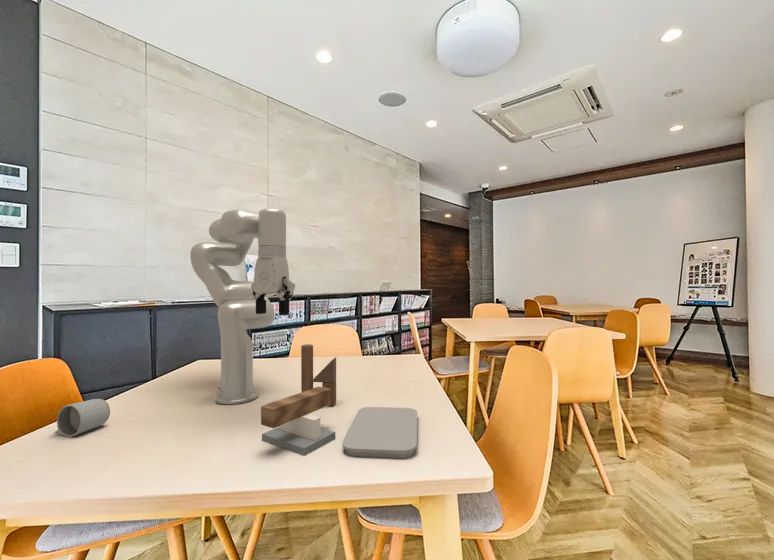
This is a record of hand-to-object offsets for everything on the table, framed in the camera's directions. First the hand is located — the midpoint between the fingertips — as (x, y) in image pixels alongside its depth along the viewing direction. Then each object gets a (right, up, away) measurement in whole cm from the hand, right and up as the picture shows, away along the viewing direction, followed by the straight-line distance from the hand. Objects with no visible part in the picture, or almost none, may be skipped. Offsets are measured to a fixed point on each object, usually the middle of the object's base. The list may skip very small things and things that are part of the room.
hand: (272, 314), depth 101 cm
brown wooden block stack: (+11, -29, +9) cm, 32 cm away
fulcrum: (+11, -28, -16) cm, 34 cm away
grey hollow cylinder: (-45, -29, -10) cm, 55 cm away
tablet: (+31, -29, -13) cm, 44 cm away
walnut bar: (+11, -22, -16) cm, 29 cm away
